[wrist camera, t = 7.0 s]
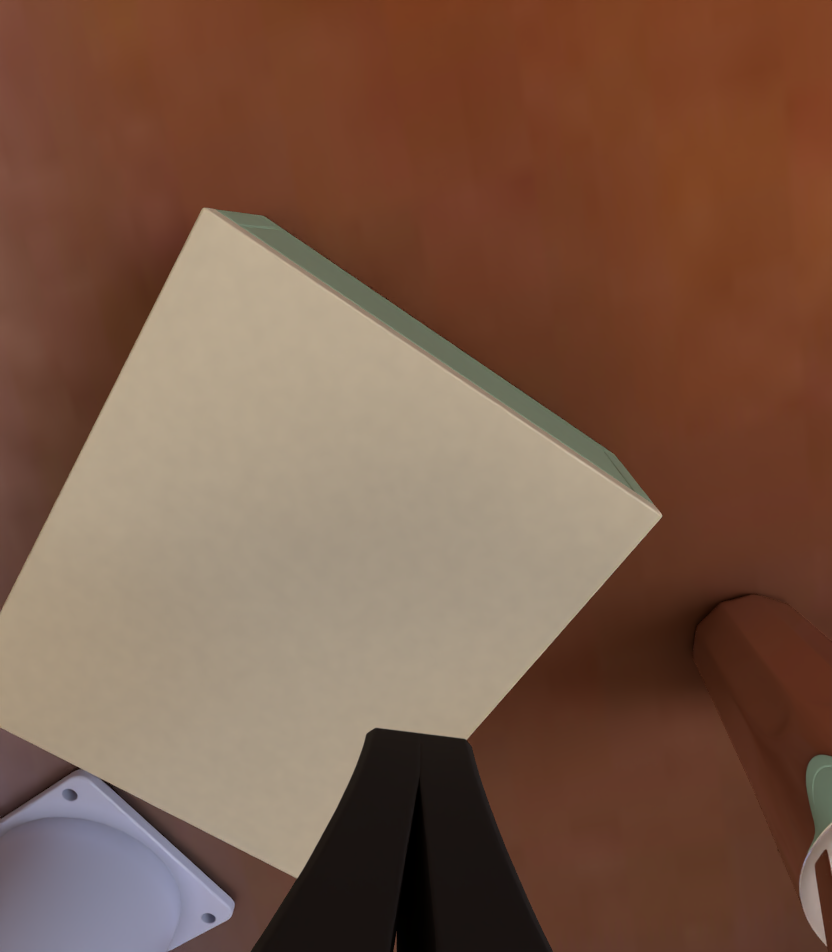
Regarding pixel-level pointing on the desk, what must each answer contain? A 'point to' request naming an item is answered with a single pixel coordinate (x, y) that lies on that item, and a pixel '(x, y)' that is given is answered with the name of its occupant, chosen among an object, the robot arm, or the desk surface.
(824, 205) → the desk surface
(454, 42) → the desk surface
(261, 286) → the lunchbox lid
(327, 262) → the lunchbox
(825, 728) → the milkshake
